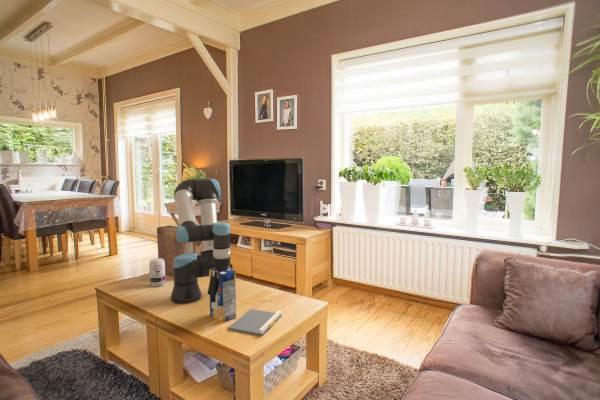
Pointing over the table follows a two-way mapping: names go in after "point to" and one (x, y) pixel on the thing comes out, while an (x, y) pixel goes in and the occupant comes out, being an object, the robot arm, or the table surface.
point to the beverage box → (225, 296)
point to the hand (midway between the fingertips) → (222, 303)
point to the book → (171, 247)
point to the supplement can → (157, 272)
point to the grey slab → (255, 322)
